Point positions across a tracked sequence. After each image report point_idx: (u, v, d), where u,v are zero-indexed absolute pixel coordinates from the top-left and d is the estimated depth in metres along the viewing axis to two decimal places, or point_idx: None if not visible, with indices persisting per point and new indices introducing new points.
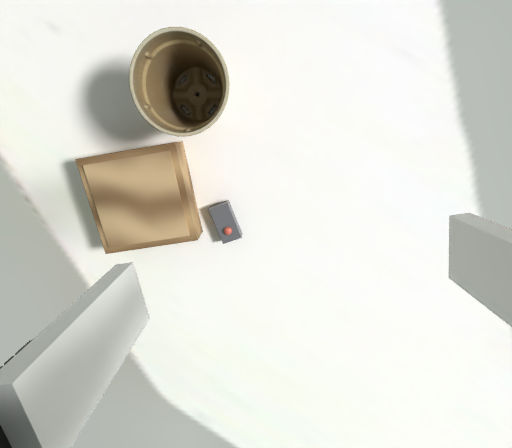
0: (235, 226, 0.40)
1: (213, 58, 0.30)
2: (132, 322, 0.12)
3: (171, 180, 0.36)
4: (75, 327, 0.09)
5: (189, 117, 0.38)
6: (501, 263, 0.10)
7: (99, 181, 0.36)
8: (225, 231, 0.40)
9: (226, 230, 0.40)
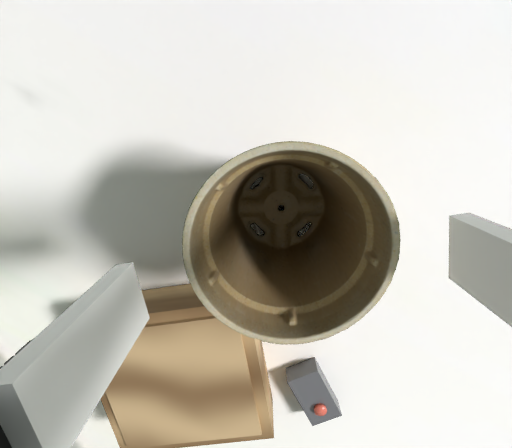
0: (331, 401, 0.25)
1: (354, 189, 0.14)
2: (132, 322, 0.12)
3: (237, 359, 0.21)
4: (75, 327, 0.09)
5: (264, 241, 0.22)
6: (501, 263, 0.10)
7: None
8: (316, 411, 0.25)
9: (318, 411, 0.25)
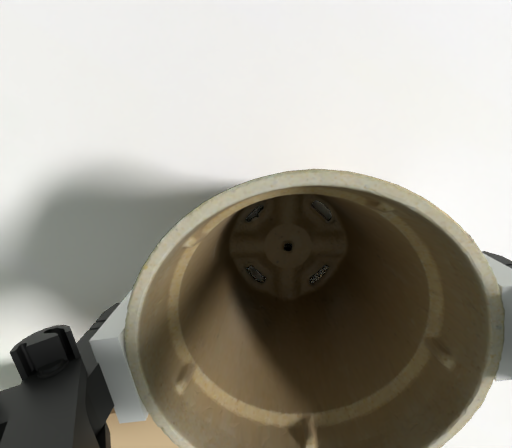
0: None
1: (414, 242, 0.09)
2: None
3: None
4: None
5: (264, 289, 0.17)
6: None
7: None
8: None
9: None
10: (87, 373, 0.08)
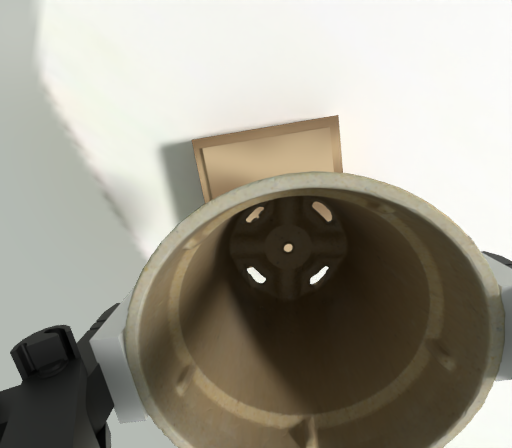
0: None
1: (414, 243, 0.09)
2: None
3: (327, 170, 0.26)
4: None
5: (265, 290, 0.17)
6: None
7: (224, 172, 0.26)
8: None
9: None
10: (87, 373, 0.08)
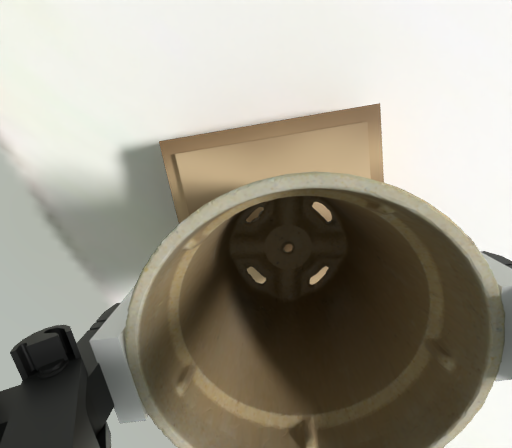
0: None
1: (414, 244, 0.09)
2: None
3: None
4: None
5: (264, 290, 0.17)
6: None
7: (208, 189, 0.17)
8: None
9: None
10: (87, 373, 0.08)
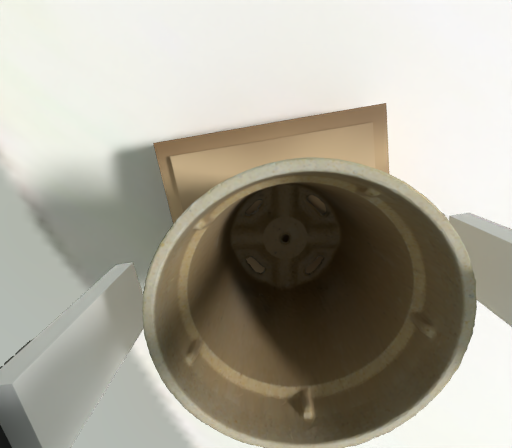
0: None
1: (398, 225, 0.10)
2: (132, 322, 0.12)
3: None
4: (75, 327, 0.09)
5: (263, 279, 0.17)
6: (501, 263, 0.10)
7: None
8: None
9: None
10: None
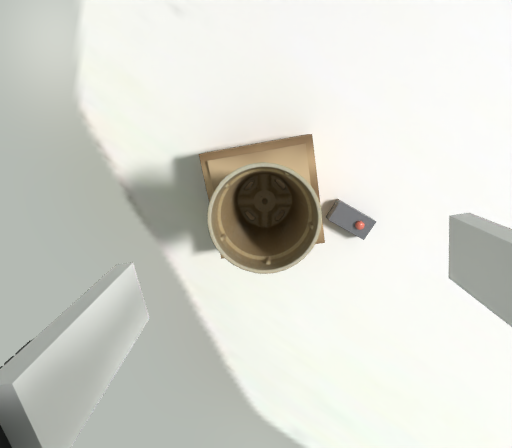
0: (363, 216, 0.36)
1: (300, 187, 0.26)
2: (132, 322, 0.12)
3: (304, 176, 0.33)
4: (75, 327, 0.09)
5: (254, 223, 0.34)
6: (501, 263, 0.10)
7: None
8: (358, 227, 0.36)
9: (358, 226, 0.36)
10: None
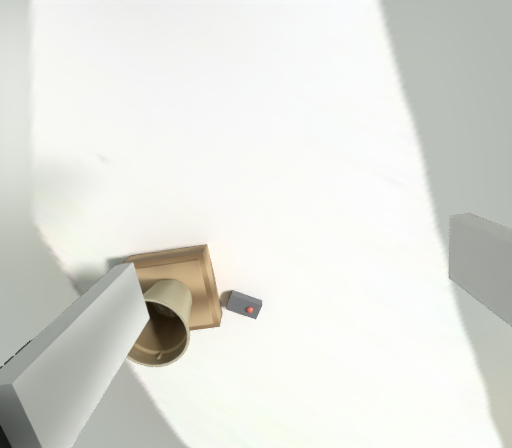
0: (251, 303, 0.48)
1: None
2: (132, 322, 0.12)
3: (199, 282, 0.44)
4: (75, 327, 0.09)
5: (164, 313, 0.45)
6: (501, 263, 0.10)
7: (140, 282, 0.44)
8: (248, 311, 0.48)
9: (248, 311, 0.48)
10: None
